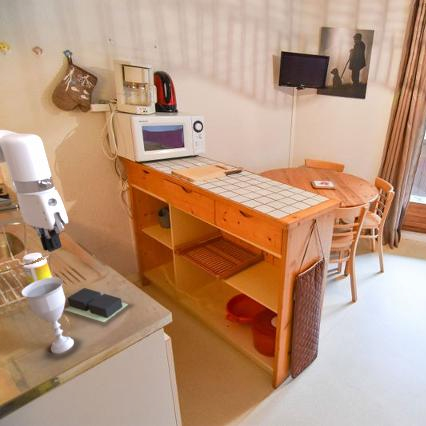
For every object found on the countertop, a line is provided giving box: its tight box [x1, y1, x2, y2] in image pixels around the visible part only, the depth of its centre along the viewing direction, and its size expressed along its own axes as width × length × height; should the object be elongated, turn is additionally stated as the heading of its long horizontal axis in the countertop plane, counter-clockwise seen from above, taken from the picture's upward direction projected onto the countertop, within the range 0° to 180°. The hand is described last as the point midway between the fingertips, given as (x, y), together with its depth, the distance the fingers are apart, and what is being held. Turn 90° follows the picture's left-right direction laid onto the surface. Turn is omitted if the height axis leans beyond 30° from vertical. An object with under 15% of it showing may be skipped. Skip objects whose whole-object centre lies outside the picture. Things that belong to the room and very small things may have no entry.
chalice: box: [21, 276, 75, 354], centre depth 74 cm, size 7×7×18 cm
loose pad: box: [67, 287, 102, 311], centre depth 90 cm, size 6×5×3 cm
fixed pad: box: [88, 293, 123, 318], centre depth 89 cm, size 6×5×3 cm
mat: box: [64, 301, 129, 323], centre depth 90 cm, size 14×8×1 cm, turn 73°
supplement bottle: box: [22, 252, 53, 285], centre depth 97 cm, size 6×6×10 cm
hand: (53, 248), depth 86 cm, fingers closed
